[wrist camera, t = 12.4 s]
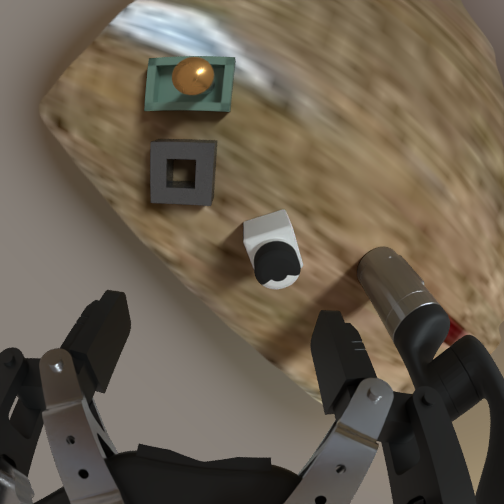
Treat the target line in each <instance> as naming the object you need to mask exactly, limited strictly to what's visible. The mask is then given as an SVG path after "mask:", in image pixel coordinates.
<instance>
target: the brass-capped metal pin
mask: <svg viewBox="0 0 504 504" xmlns="http://www.w3.org/2000/svg"><path fill="white" fill-rule="evenodd" d="M172 82H173V85H174V87H175V88H176V89H177V90H178V91H179V92H181V93H183V94H186V95H199V94H203V95H206V94H209V93H211V92H212V91H213V90H214V88H215V81H214V70H213V68H212V66H211V65H210V63H209V62H208V61H206V60H205V59H203V58H200V57H189V58H186V59H184V60H182V61H181V62H179V63H178V64H177V65H176V67H175V68H174V70H173V73H172Z"/></svg>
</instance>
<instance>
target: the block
mask: <svg viewBox="0 0 504 504" xmlns="http://www.w3.org/2000/svg"><path fill="white" fill-rule="evenodd" d="M216 154H217V141H216V140H192V139H158V140H155V141H152V142H151V153H150V186H151V203H168V204H187V205H205V206H211V205H212V201H213V198H214V184H215V168H216ZM173 159H193V160H196V175H195V182H190V181H173Z"/></svg>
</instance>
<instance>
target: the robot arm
mask: <svg viewBox="0 0 504 504" xmlns="http://www.w3.org/2000/svg"><path fill="white" fill-rule="evenodd" d="M357 277H358V280H359V282H360V283H361V285H362V287H363V288H364V290H365V292H366V294H367V296H368V297H369V299H370V301H371V302H372V304H373V306H374V308H375V309H376V311H377V313H378V315H379V317H380V318H381V320H382V322H383V324H384V326H385V328H386V329H387V331H388V333H389V335H390V337H391V339H392V340H393V342H394V344H395V346H396V348H397V350H398V352H399V354H400V355H401V357H402V359H403V361H404V364H405V366H406V368H407V370H408V372H409V375H410V377H411V379H412V382H413V385H414V387H415V391H414V393H413V394H407V393H400V392H395V391H393V390H392V388H391V387H390V386H389V384H388V383H386V382H385V381H383V380H381V379H379V378H377V376H376V373H375V371H374V368H373V366H372V363H371V361H370V358H369V356H368V354H367V351H366V350H365V346H364V344H363V343H362V339H361V337H360V335H359V332H358V331H357V330H356V329H355V328H354V327H353V326H352V325H351V323H345V322H344V320H343V317H342V315H341V313H340V311H330V310H321V311H320V313H319V316H318V319H317V322H316V326H315V329H314V332H313V335H312V338H311V353H312V357H313V362H314V366H315V371H316V375H317V380H318V384H319V389H320V393H321V398H322V403H323V407H324V412H325V415H327V414H335V418H336V420H335V422H334V423H333V425H332V426H331V428H330V430H329V431H328V433H327V434H326V436H325V438H324V439H323V441H322V442H321V444H320V445H319V447H318V448H317V450H316V451H315V453H314V454H313V455H312V457H311V458H310V459H309V461H308V462H307V463H306V465H305V466H304V467H303V469H302V470H301V471H300V472H299V474H298V475H297V474H295V473H293V472H292V471H290V470H287V469H285V468H282V467H279V466H276V465H271V458H250V457H249V458H248V457H236V458H229V459H223V460H215V461H209V462H208V461H207V462H202V461H198V460H195V459H192V458H190V457H187V456H184V455H181V454H179V453H176V452H174V451H171V450H168V449H162V448H157V447H152V446H147V445H143V444H139V445H138V449H137V451H127V452H123V453H118V452H117V450H116V448H115V446H114V445H113V443H112V441H111V440H110V438H109V436H108V433H107V431H106V429H105V427H104V424H103V422H102V419H101V417H100V414H99V412H98V409H97V406H96V404H95V401H94V399H93V395H94V393H95V391H97V392H101V393H105V392H106V389H107V386H108V384H109V381H110V379H111V376H112V374H113V371H114V369H115V366H116V364H117V362H118V359H119V357H120V354H121V352H122V350H123V347H124V345H125V343H126V340H127V338H128V336H129V333H130V329H131V320H130V315H129V310H128V305H127V300H126V295H125V293H124V292H119V291H112V290H107V291H106V292H105V293H104V295H103V296H102V298H101V299H100V300H99V301H98V300H95V301H93V302H92V303H91V304H89V305H88V306H87V307H86V308H85V310H84V311H83V313H82V314H81V317H79V319H78V320H77V323H76V324H75V325H74V326H73V328H72V329H71V331H70V333H69V334H68V336H67V337H66V339H65V341H64V342H63V344H62V345H61V347H60V348H56V349H52V350H49V351H47V352H46V353H45V354H44V355H43V356H42V357H41V358H40V359H38V358H24V356H23V354H22V352H21V351H20V350H19V349H17V348H7V349H5V350H4V351H2V352H1V353H0V504H350V502H351V500H352V499H353V497H354V495H355V493H356V492H357V490H358V488H359V486H360V484H361V483H362V481H363V479H364V477H365V475H366V473H367V471H368V469H369V467H370V465H371V463H372V461H373V459H374V457H375V455H376V452H377V450H378V446H379V445H378V444H377V443H376V441H380V442H381V443H382V447H383V452H384V456H385V461H386V466H387V471H388V476H389V481H390V487H391V493H392V499H393V504H504V378H503V376H502V374H501V373H500V371H499V369H498V367H497V366H496V364H495V362H494V361H493V359H492V357H491V356H490V354H489V352H488V351H487V350H486V348H485V347H484V345H483V344H482V343H481V342H480V341H479V340H478V339H477V338H475V337H474V336H472V335H465V336H463V337H462V338H460V339H459V340H458V341H456V342H455V343H454V344H453V345H451V346H450V347H449V348H448V349H446V350H445V351H444V352H443V353H441V354H440V355H439V356H437V357H436V358H435V359H434V360H433V358H434V356H435V354H436V352H437V350H438V349H439V347H440V346H441V344H442V343H443V341H444V340H445V338H446V336H447V334H448V331H449V327H450V320H449V317H448V315H447V313H446V312H445V311H444V309H443V308H442V307H441V306H440V304H439V303H438V302H437V300H436V299H435V298H434V297H433V295H432V294H431V293H430V292H429V291H428V289H427V288H426V287H425V286H424V281H423V280H422V279H421V278H420V276H419V275H418V274H417V273H416V272H415V271H414V269H413V268H412V267H411V266H410V265H409V264H408V263H407V262H406V260H405V259H404V258H403V257H402V256H401V255H397V253H396V252H395V251H394V250H392V249H391V248H388V247H379V248H375V249H373V250H371V251H370V252H368V253H367V254H366V255H365V256H364V257H363V258H362V260H361V261H360V263H359V266H358V269H357ZM16 396H17V397H18V398H19V399H18V401H17V404H16V406H15V408H14V410H13V413H12V415H11V418H10V420H9V417H8V416H9V411H10V409H11V407H12V405H13V402H14V400H15V398H16ZM483 398H485V399H486V400H487V401H488V404H489V408H490V417H491V418H490V419H491V424H490V426H491V427H490V439H489V447H488V452H487V458H486V461H485V464H484V468H483V472H482V475H481V478H480V482H479V485H478V489H477V492H476V496H475V494H474V490H473V486H472V482H471V479H470V475H469V472H468V468H467V465H466V462H465V459H464V456H463V453H462V450H461V447H460V444H459V441H458V438H457V435H456V432H455V430H454V427H453V424H452V421H454V420H455V419H457V418H458V417H459V416H460V415H462V414H464V413H465V412H466V411H468V410H469V409H470V408H472V407H473V406H474V405H475V404H477V403H478V402H479V401H481V400H482V399H483ZM43 424H44V426H45V430H46V434H47V438H48V441H49V445H50V448H51V452H52V455H53V458H54V461H55V464H56V467H57V470H58V473H59V475H60V478H61V481H62V483H63V487H62V488H60V489H58V490H57V491H55V492H53V493H51V494H50V495H48V496H46V497H45V498H43V499H41V500H39V501H37V502H35V503H33V502H32V498H33V497H34V491H33V489H32V488H31V484H30V482H29V480H28V478H27V477H28V474H29V470H30V466H31V462H32V458H33V455H34V452H35V449H36V445H37V442H38V439H39V436H40V433H41V430H42V427H43Z"/></svg>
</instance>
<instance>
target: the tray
mask: <svg viewBox="0 0 504 504" xmlns="http://www.w3.org/2000/svg"><path fill="white" fill-rule="evenodd" d="M189 57H200V58H203V59H205V60H206V61H208V62H209V63H210V65H211V66H212V68H213V70H214V81H215V88H214V90H213V91H212V92H211V93H209V94H206V95H203V94H199V95H186V94H183V93H181V92H179V91H178V90H177V89H176V88H175V87H174V85H173V82H172V73H173V70H174V68H175V67H176V65H177V64H178V63H179V62H181V61H182V60H184V59H186V58H189ZM235 62H236V61H235V57H213V56H185V57H163V58H149V63H148V72H147V82H146V94H145V109H144V111H161V110H199V111H224V112H230V109H231V99H232V89H233V80H234V71H235Z"/></svg>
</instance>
